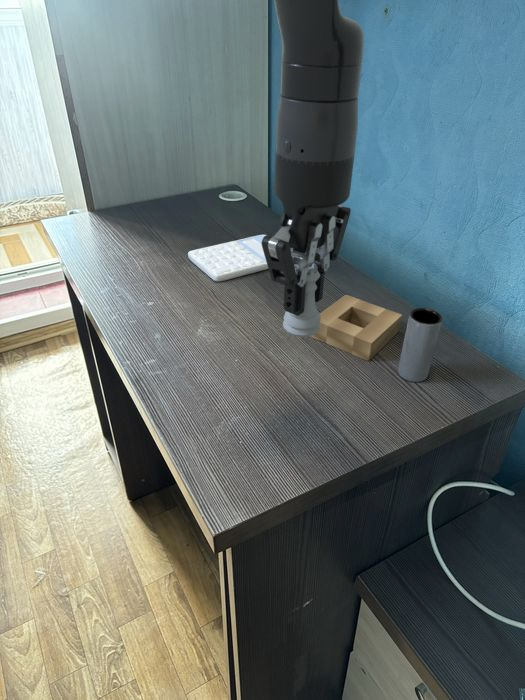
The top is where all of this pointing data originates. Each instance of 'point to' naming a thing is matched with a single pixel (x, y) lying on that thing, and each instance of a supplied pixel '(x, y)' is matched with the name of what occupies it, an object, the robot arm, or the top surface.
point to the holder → (357, 327)
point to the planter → (419, 344)
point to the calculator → (231, 258)
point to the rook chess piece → (305, 309)
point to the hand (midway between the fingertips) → (303, 304)
